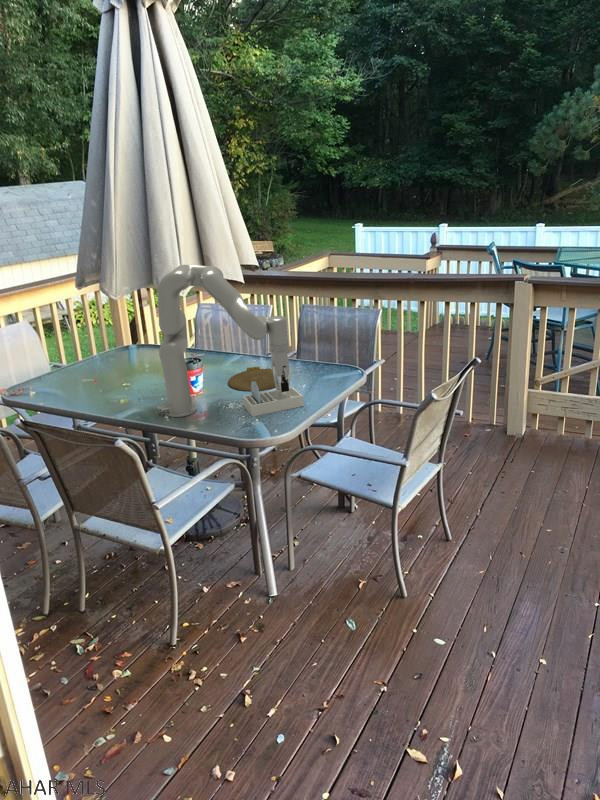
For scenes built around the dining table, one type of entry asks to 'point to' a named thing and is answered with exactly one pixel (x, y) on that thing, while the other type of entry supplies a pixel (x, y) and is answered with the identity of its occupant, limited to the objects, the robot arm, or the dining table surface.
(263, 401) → the rack
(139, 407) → the dining table surface
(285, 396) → the beer glass
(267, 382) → the decorative disc
